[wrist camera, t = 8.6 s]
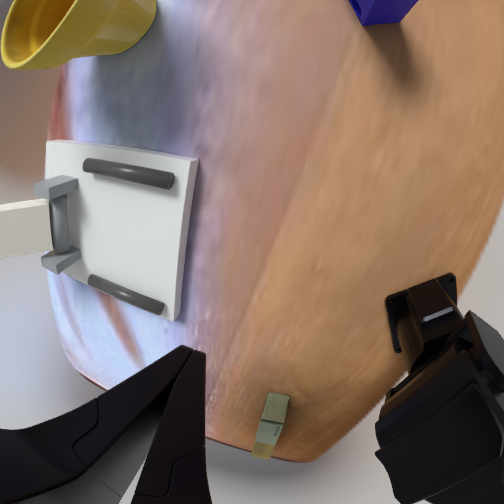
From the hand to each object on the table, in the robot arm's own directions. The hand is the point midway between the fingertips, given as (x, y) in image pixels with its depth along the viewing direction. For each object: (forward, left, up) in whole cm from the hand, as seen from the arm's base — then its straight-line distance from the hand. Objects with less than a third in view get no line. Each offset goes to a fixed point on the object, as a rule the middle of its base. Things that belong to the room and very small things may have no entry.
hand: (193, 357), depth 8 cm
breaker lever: (+8, +16, -10) cm, 20 cm away
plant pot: (+21, +3, -13) cm, 25 cm away
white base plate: (+6, +13, -13) cm, 19 cm away
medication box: (-23, +9, -13) cm, 28 cm away
